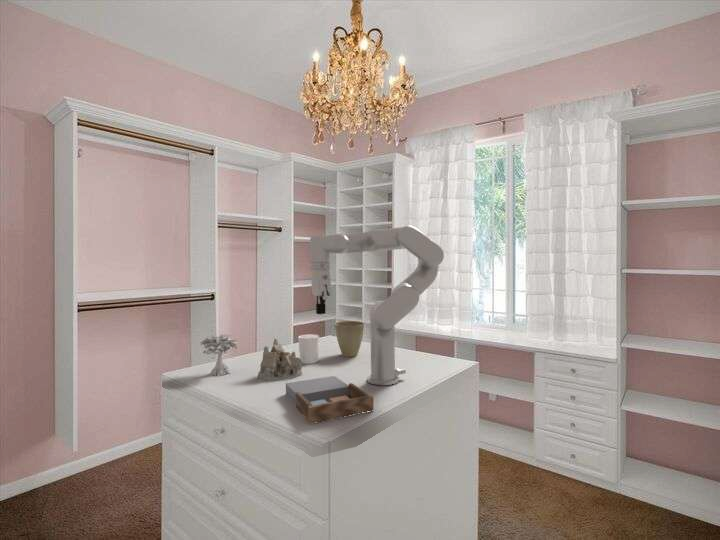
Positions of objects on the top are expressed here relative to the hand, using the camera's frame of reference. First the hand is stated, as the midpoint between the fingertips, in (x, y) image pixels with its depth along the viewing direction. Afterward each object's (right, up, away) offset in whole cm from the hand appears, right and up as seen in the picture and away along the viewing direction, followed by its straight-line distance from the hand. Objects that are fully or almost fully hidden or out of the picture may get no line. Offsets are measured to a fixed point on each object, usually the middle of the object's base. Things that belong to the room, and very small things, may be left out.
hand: (320, 313), depth 160 cm
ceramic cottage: (-18, -27, +10) cm, 34 cm away
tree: (-44, -27, +15) cm, 54 cm away
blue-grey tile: (+2, -26, -28) cm, 38 cm away
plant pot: (+10, -26, +44) cm, 52 cm away
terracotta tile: (+9, -26, -25) cm, 37 cm away
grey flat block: (0, -28, -15) cm, 31 cm away
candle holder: (-9, -26, +32) cm, 42 cm away
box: (+7, -28, -28) cm, 40 cm away
